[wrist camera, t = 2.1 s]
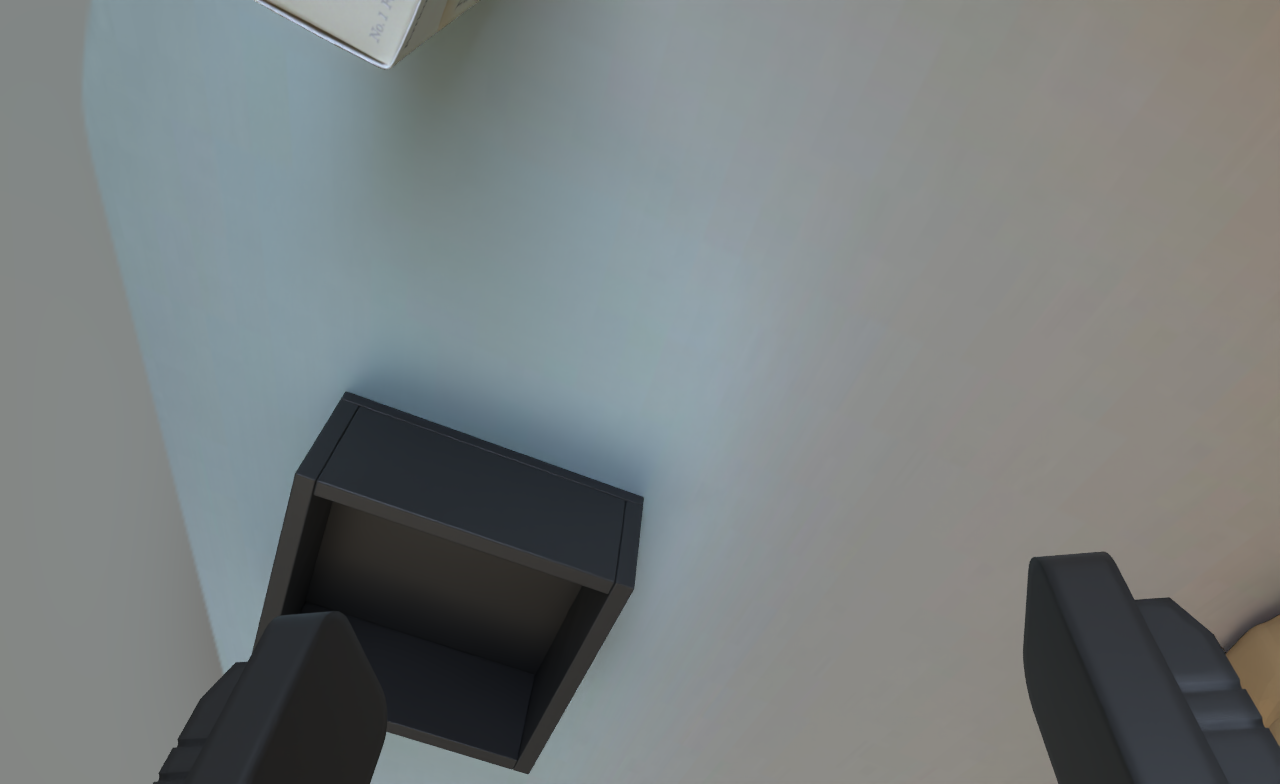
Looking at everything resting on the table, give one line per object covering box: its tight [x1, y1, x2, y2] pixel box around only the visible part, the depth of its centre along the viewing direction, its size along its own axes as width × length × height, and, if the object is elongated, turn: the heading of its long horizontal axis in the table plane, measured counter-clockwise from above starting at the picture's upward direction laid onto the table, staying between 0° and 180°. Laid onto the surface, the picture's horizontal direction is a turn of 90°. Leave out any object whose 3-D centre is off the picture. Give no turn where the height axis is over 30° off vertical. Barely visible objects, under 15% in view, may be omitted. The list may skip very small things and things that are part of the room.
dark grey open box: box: [252, 392, 644, 774], centre depth 41 cm, size 14×14×6 cm
